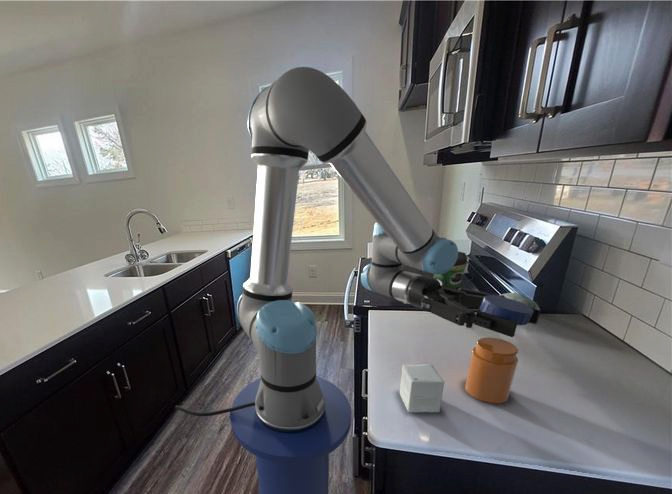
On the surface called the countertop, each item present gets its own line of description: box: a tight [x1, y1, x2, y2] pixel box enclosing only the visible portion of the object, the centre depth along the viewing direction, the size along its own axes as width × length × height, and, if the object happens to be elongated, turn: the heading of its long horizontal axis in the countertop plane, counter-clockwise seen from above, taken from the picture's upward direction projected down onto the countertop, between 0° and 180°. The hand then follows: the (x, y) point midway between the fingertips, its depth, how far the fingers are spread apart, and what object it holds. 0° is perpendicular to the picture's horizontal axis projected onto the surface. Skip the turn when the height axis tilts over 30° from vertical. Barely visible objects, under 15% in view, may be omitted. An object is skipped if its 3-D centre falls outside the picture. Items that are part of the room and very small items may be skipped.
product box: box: [399, 363, 445, 413], centre depth 63 cm, size 6×6×7 cm
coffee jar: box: [432, 250, 468, 303], centre depth 105 cm, size 10×8×19 cm
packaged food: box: [500, 292, 541, 310], centre depth 102 cm, size 9×12×5 cm
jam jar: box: [464, 336, 519, 405], centre depth 65 cm, size 8×8×11 cm
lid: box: [478, 295, 534, 326], centre depth 60 cm, size 8×8×2 cm
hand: (526, 323), depth 58 cm, fingers closed on lid, 8 cm apart
